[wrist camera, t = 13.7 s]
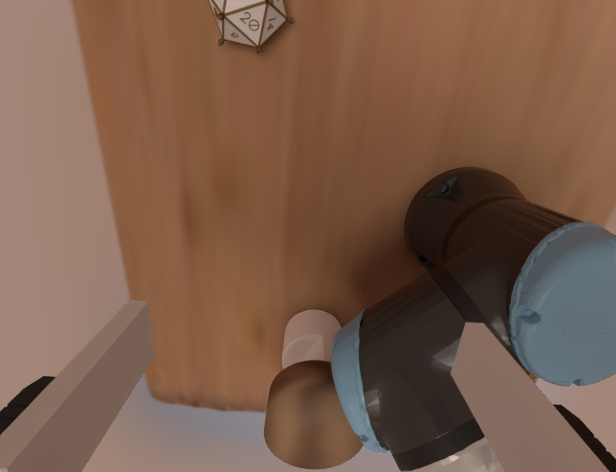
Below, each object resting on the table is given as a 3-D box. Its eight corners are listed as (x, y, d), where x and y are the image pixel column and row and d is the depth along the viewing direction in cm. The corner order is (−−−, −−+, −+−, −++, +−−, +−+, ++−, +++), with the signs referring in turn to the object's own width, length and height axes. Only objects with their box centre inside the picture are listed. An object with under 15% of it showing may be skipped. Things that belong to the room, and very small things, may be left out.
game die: (274, 22, 39) (325, 18, 32) (226, 70, 39) (268, 77, 32) (227, -66, 33) (278, -93, 26) (167, -10, 32) (204, -24, 25)
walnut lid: (368, 366, 38) (376, 401, 33) (349, 433, 42) (355, 474, 37) (274, 354, 37) (269, 388, 33) (264, 424, 41) (259, 463, 36)
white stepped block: (305, 299, 49) (304, 354, 37) (353, 327, 50) (366, 388, 39) (273, 340, 51) (264, 403, 40) (320, 366, 53) (324, 433, 42)
